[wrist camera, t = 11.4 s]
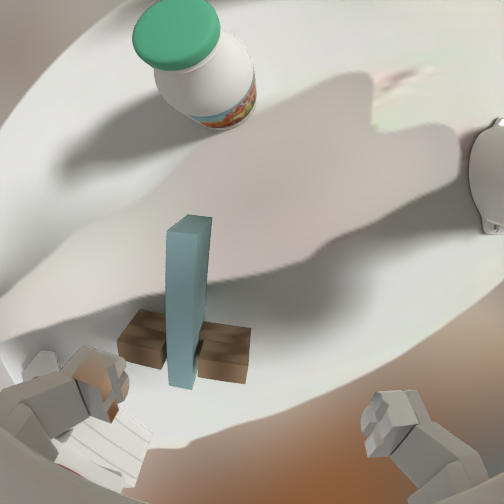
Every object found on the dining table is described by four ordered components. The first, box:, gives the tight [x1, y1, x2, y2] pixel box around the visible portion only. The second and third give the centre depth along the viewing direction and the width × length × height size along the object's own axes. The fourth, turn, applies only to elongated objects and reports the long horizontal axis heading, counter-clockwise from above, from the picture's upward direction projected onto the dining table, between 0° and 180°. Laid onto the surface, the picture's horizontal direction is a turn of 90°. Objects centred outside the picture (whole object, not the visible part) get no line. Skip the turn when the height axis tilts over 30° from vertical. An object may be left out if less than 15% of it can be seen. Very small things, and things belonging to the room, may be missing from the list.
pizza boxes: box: [22, 350, 153, 493], centre depth 38 cm, size 19×30×18 cm, turn 38°
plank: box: [166, 215, 212, 390], centre depth 33 cm, size 3×20×8 cm, turn 173°
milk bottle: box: [132, 0, 257, 130], centre depth 20 cm, size 8×8×20 cm
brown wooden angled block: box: [117, 310, 251, 384], centre depth 35 cm, size 16×3×8 cm, turn 82°
